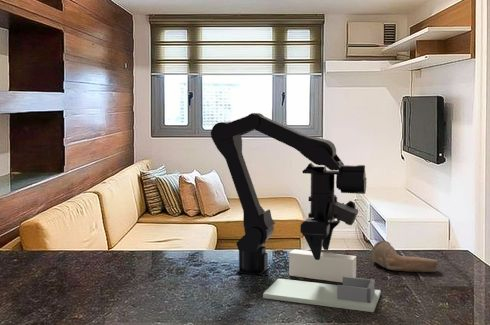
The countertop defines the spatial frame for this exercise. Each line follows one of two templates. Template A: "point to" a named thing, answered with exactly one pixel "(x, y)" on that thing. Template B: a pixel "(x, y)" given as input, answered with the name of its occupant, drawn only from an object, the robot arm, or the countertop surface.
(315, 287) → the bracket board
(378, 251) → the pipe
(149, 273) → the countertop surface
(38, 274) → the countertop surface
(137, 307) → the countertop surface
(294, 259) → the block
